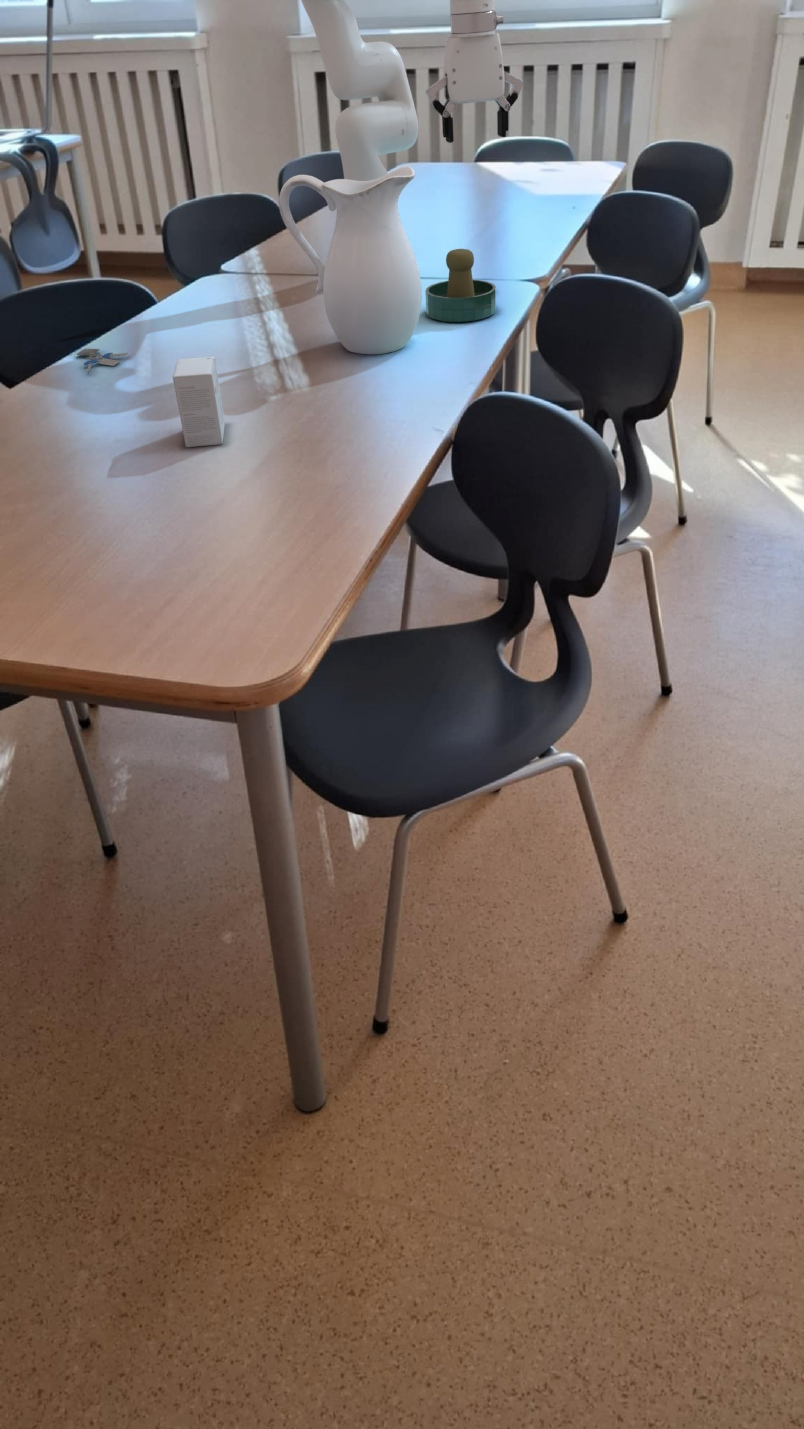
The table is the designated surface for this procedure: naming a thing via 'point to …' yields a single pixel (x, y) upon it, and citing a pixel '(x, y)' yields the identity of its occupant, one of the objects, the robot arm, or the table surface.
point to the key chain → (99, 357)
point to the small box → (199, 401)
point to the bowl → (461, 302)
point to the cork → (460, 273)
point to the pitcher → (364, 261)
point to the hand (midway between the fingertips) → (475, 139)
